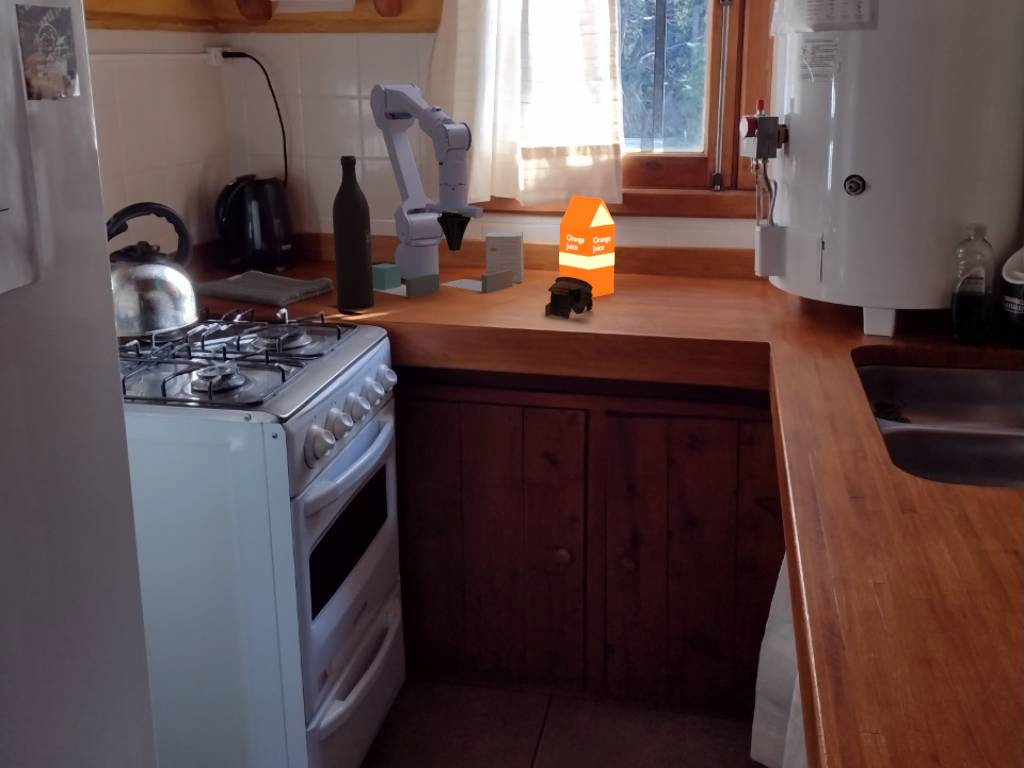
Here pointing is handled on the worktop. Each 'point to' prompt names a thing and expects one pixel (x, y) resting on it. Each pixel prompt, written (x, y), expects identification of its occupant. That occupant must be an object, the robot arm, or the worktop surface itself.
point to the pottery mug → (569, 297)
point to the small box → (505, 253)
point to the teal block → (386, 276)
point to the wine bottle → (352, 243)
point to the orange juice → (588, 244)
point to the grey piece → (416, 286)
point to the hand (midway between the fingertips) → (454, 250)
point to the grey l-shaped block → (485, 282)
